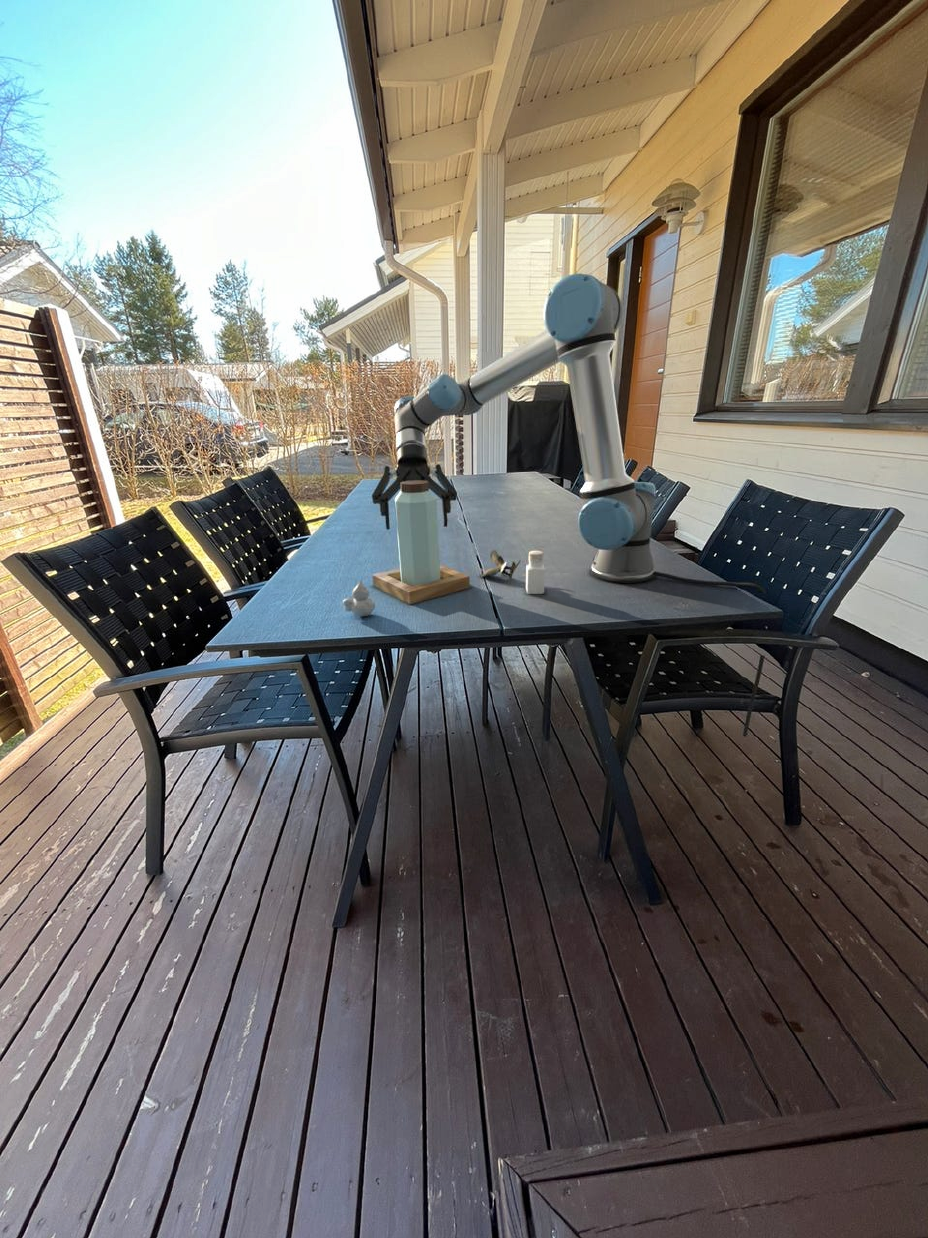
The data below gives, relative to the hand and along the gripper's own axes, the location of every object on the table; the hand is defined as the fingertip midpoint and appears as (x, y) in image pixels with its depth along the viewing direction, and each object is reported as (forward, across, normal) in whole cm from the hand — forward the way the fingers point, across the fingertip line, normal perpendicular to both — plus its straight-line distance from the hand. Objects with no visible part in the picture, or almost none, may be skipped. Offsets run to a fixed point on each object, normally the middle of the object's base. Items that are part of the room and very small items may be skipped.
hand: (416, 525), depth 123 cm
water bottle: (+11, 0, -10) cm, 15 cm away
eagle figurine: (+9, -20, -13) cm, 25 cm away
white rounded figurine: (+23, +13, +2) cm, 27 cm away
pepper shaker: (+18, -26, -4) cm, 32 cm away
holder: (+11, 0, -10) cm, 15 cm away
